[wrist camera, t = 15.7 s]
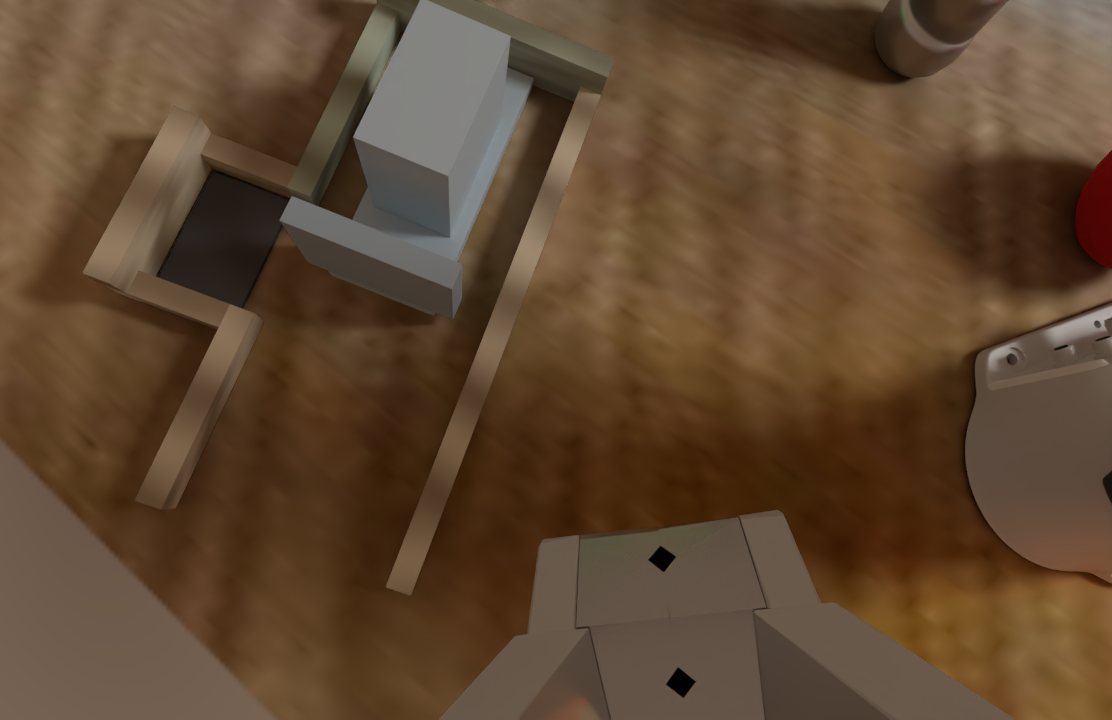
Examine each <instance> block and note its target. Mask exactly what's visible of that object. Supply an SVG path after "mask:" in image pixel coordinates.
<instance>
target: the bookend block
mask: <svg viewBox="0 0 1112 720" xmlns="http://www.w3.org/2000/svg"><path fill="white" fill-rule="evenodd" d="M510 39H511V36H509V35H507V34H505V33H502V32H500V31H498V30H495V29H493V28H491V27H488V26H486V25H484V24H481V23H479V22H477V21H474V20H472V19H470V18H467V17H465V16H463V15H460V14H458V13H456V12H453V11H451V10H449V9H446V8H444V7H442V6H439V5H437V4H435V3H432V2H430V1H428V0H420V1H419V3H418V6H417V8H416V10H415V12H414V14H413V16H412V18H411V20H410V22H409V24H408V26H407V28H406V30H405V32H404V34H403V36H402V38H401V40H400V42H399V44H398V46H397V48H396V50H395V52H394V54H393V56H392V59H391V61H390V63H389V65H388V67H387V69H386V71H385V73H384V75H383V77H382V79H381V81H380V83H379V85H378V87H377V89H376V91H375V93H374V95H373V97H372V99H371V101H370V103H369V105H368V107H367V109H366V112H365V114H364V116H363V118H362V120H361V122H360V124H359V126H358V128H357V130H356V132H355V134H354V136H353V139H354V142H355V146H356V149H357V152H358V156H359V159H360V162H361V165H362V169H363V172H364V175H365V179H366V182H367V185H368V187H367V190H366V192H365V194H364V196H363V198H362V200H361V202H360V204H359V206H358V208H357V211H356V213H355V215H354V217H353V219H352V220H351V219H348V218H346V217H343V216H341V215H338V214H336V213H333V212H331V211H328V210H326V209H323V208H321V207H318V206H316V205H313V204H311V203H308V202H306V201H303V200H301V199H298V198H296V197H293V196H292V197H291V199H290V200H289V202H288V204H287V206H286V208H285V210H284V212H283V214H282V216H281V218H280V220H279V221H280V222H281V224H282V225H283V227H284V228H285V230H286V231H287V232H288V234H289V235H290V237H291V238H292V240H293V241H294V243H295V244H296V246H297V247H298V249H299V250H300V252H301V253H302V255H303V256H304V257H305V259H306V260H307V262H308V263H310V264H313V265H315V266H318V267H320V268H323V269H325V270H328V271H329V273H330V275H331V276H333V277H336V278H338V279H341V280H344V281H346V282H349V283H351V284H354V285H356V286H359V287H361V288H364V289H366V290H369V291H371V292H374V293H376V294H379V295H382V296H384V297H387V298H389V299H392V300H394V301H397V302H399V303H402V304H404V305H407V306H409V307H412V308H414V309H417V310H420V311H422V312H425V313H427V314H430V315H432V316H435V313H437V314H439V315H442V316H444V317H447V318H449V319H452V320H453V319H454V316H455V314H456V312H457V309H458V307H459V305H460V302H461V300H462V272H463V264H460V263H458V260H459V257H460V255H461V253H462V250H463V248H464V246H465V243H466V241H467V239H468V236H469V234H470V232H471V229H472V227H473V225H474V222H475V220H476V218H477V215H478V213H479V211H480V208H481V206H482V204H483V201H484V199H485V197H486V194H487V192H488V190H489V187H490V185H491V183H492V180H493V178H494V176H495V173H496V171H497V169H498V166H499V164H500V162H501V159H502V157H503V155H504V152H505V150H506V148H507V145H508V143H509V141H510V138H511V136H512V134H513V131H514V129H515V127H516V124H517V122H518V120H519V117H520V115H521V113H522V110H523V108H524V106H525V103H526V101H527V99H528V96H529V94H530V92H531V89H532V86H533V81H534V78H532V77H530V76H527V75H525V74H523V73H520V72H518V71H516V70H513V69H511V68H509V67H507V65H508V56H509V48H510Z"/></svg>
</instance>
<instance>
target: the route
mask: <svg viewBox="0 0 1112 720" xmlns="http://www.w3.org/2000/svg"><path fill="white" fill-rule="evenodd" d="M419 1H420V0H377V4H376V6H375V8H374V10H373V12H372V14H371V16H370V18H369V20H368V23H367V25H366V27H365V29H364V31H363V33H362V35H361V37H360V39H359V41H358V43H357V45H356V47H355V49H354V51H353V53H352V55H351V57H350V59H349V61H348V64H347V66H346V68H345V70H344V72H343V74H342V76H341V78H340V80H339V82H338V84H337V86H336V88H335V90H334V92H333V94H332V96H331V98H330V100H329V102H328V105H327V107H326V109H325V111H324V113H323V115H322V117H321V119H320V121H319V123H318V125H317V127H316V129H315V131H314V133H313V135H312V137H311V139H310V141H309V143H308V145H307V148H306V150H305V152H304V154H303V156H302V158H301V160H300V162H299V164H298V166H294V165H292V164H289V163H287V162H284V161H282V160H279V159H276V158H274V157H271V156H269V155H266V154H264V153H261V152H258V151H256V150H253V149H251V148H248V147H246V146H243V145H240V144H238V143H235V142H233V141H230V140H228V139H225V138H222V137H220V136H217V135H215V134H212V133H211V132H210V131H209V129H208V128H207V126H206V125H205V124H204V122H203V121H202V119H201V118H200V116H199V115H196V114H194V113H191V112H189V111H186V110H184V109H181V108H178V107H176V106H174V107H173V108H172V110H171V112H170V114H169V116H168V117H167V119H166V121H165V123H164V125H163V127H162V128H161V130H160V132H159V134H158V136H157V138H156V139H155V141H154V143H153V145H152V147H151V148H150V150H149V152H148V154H147V156H146V158H145V159H144V161H143V163H142V165H141V167H140V168H139V170H138V172H137V174H136V176H135V178H134V179H133V181H132V183H131V185H130V187H129V188H128V190H127V192H126V194H125V196H124V198H123V199H122V201H121V203H120V205H119V207H118V209H117V210H116V212H115V214H114V216H113V218H112V219H111V221H110V223H109V225H108V227H107V229H106V230H105V232H104V234H103V236H102V238H101V239H100V241H99V243H98V245H97V247H96V249H95V250H94V252H93V254H92V256H91V258H90V260H89V261H88V263H87V265H86V267H85V269H84V270H83V272H82V274H84V275H86V276H88V277H90V278H91V279H93V280H95V281H97V282H98V283H100V284H102V285H104V286H106V287H107V288H109V289H111V290H113V291H114V292H116V293H118V294H120V295H123V296H126V297H129V298H131V299H134V300H137V301H140V302H142V303H145V304H148V305H150V306H153V307H156V308H159V309H161V310H164V311H167V312H169V313H172V314H175V315H178V316H180V317H183V318H186V319H189V320H191V321H194V322H197V323H199V324H202V325H205V326H208V327H210V328H213V329H216V330H217V332H216V334H215V336H214V338H213V340H212V342H211V344H210V346H209V348H208V350H207V352H206V355H205V357H204V359H203V361H202V363H201V365H200V367H199V369H198V371H197V373H196V375H195V377H194V379H193V381H192V383H191V385H190V387H189V389H188V391H187V393H186V396H185V398H184V400H183V402H182V404H181V406H180V408H179V410H178V412H177V414H176V416H175V418H174V420H173V422H172V424H171V426H170V428H169V430H168V432H167V434H166V437H165V439H164V441H163V443H162V445H161V447H160V449H159V451H158V453H157V455H156V457H155V459H154V461H153V463H152V465H151V467H150V469H149V471H148V473H147V475H146V477H145V480H144V482H143V484H142V486H141V488H140V490H139V492H138V494H137V496H136V498H135V500H134V501H137V502H139V503H142V504H145V505H148V506H151V507H154V508H157V509H160V510H165V509H176V507H177V505H178V503H179V501H180V499H181V496H182V494H183V492H184V490H185V488H186V486H187V484H188V482H189V480H190V477H191V475H192V473H193V471H194V469H195V467H196V465H197V463H198V460H199V458H200V456H201V454H202V452H203V450H204V448H205V446H206V444H207V441H208V439H209V437H210V435H211V433H212V431H213V429H214V427H215V425H216V422H217V420H218V418H219V416H220V414H221V412H222V410H223V408H224V405H225V403H226V401H227V399H228V397H229V395H230V393H231V391H232V389H233V386H234V384H235V382H236V380H237V378H238V376H239V374H240V372H241V369H242V367H243V365H244V363H245V361H246V359H247V357H248V355H249V353H250V350H251V348H252V346H253V344H254V342H255V340H256V338H257V336H258V333H259V331H260V329H261V327H262V325H263V323H264V321H263V320H262V319H261V318H260V317H258V316H257V315H256V314H255V313H252V312H250V311H247V310H244V309H243V307H244V305H245V303H246V301H247V299H248V297H249V295H250V293H251V291H252V288H253V286H254V284H255V282H256V280H257V278H258V276H259V274H260V272H261V270H262V268H263V266H264V264H265V262H266V259H267V257H268V255H269V253H270V251H271V249H272V247H273V245H274V243H275V241H276V239H277V237H278V235H279V232H280V230H281V228H282V226H283V225H282V224H281V222H280V221H279V220H280V218H281V216H282V214H283V212H284V210H285V208H286V206H287V204H288V202H289V200H287V199H284V198H282V197H279V196H276V195H274V194H271V193H269V192H266V191H263V190H261V189H258V188H256V187H253V186H250V185H248V184H245V183H243V182H240V181H237V180H235V179H232V178H230V177H227V176H225V175H222V174H219V173H217V172H214V171H213V173H212V175H211V177H210V179H209V181H208V183H207V185H206V187H205V189H204V190H203V192H202V194H201V196H200V198H199V200H198V202H197V204H196V206H195V208H194V210H193V212H192V214H191V215H190V217H189V219H188V221H187V223H186V225H185V227H184V229H183V231H182V233H181V235H180V237H179V239H178V240H177V242H176V244H175V246H174V248H173V250H172V252H171V254H170V256H169V258H168V260H167V262H166V264H165V265H164V267H163V269H162V271H161V273H160V275H159V277H156V276H157V274H158V272H159V270H160V268H161V266H162V264H163V262H164V260H165V258H166V256H167V254H168V252H169V251H170V249H171V247H172V245H173V243H174V241H175V239H176V237H177V235H178V233H179V231H180V229H181V228H182V226H183V224H184V222H185V220H186V218H187V216H188V214H189V212H190V210H191V208H192V206H193V204H194V203H195V201H196V199H197V197H198V195H199V193H200V191H201V189H202V187H203V185H204V183H205V181H206V179H207V178H208V176H209V174H210V172H211V170H212V169H213V170H216V171H219V172H221V173H224V174H226V175H229V176H232V177H234V178H237V179H239V180H242V181H244V182H247V183H250V184H252V185H255V186H257V187H260V188H263V189H265V190H268V191H270V192H273V193H276V194H278V195H281V196H283V197H286V198H289V199H291V197H292V196H293V197H296V198H298V199H301V200H303V201H306V202H308V203H311V204H313V205H316V206H319V204H320V202H321V200H322V198H323V196H324V194H325V192H326V189H327V187H328V185H329V183H330V181H331V179H332V177H333V175H334V173H335V170H336V168H337V166H338V164H339V162H340V160H341V158H342V156H343V153H344V151H345V149H346V147H347V145H348V143H349V141H350V139H351V137H352V134H353V132H354V130H355V128H356V126H357V124H358V122H359V120H360V117H361V115H362V113H363V111H364V109H365V107H366V105H367V103H368V101H369V98H370V96H371V94H372V92H373V90H374V88H375V86H376V84H377V81H378V79H379V77H380V75H381V73H382V71H383V69H384V67H385V65H386V62H387V60H388V58H389V56H390V54H391V52H392V50H393V48H394V45H395V43H396V41H397V39H398V37H399V35H400V33H401V32H405V30H406V28H407V26H408V24H409V22H410V20H411V18H412V16H413V14H414V12H415V10H416V8H417V6H418V3H419ZM428 1H430V2H432V3H435V4H437V5H439V6H442V7H444V8H446V9H449V10H451V11H453V12H456V13H458V14H460V15H463V16H465V17H467V18H470V19H472V20H474V21H477V22H479V23H481V24H484V25H486V26H488V27H491V28H493V29H495V30H498V31H500V32H502V33H505V34H507V35H509V36H511V39H510V48H509V56H508V65H507V67H509V68H511V69H513V70H516V71H518V72H520V73H523V74H525V75H527V76H530V77H532V78H534V81H533V86H536V87H538V88H540V89H543V90H545V91H548V92H550V93H553V94H555V95H557V96H560V97H562V98H565V99H567V100H570V101H572V102H574V104H573V107H572V110H571V112H570V115H569V117H568V120H567V122H566V125H565V128H564V130H563V133H562V135H561V138H560V140H559V143H558V146H557V148H556V151H555V153H554V156H553V158H552V161H551V164H550V166H549V169H548V171H547V174H546V176H545V179H544V182H543V184H542V187H541V189H540V192H539V194H538V197H537V199H536V202H535V205H534V207H533V210H532V212H531V215H530V217H529V220H528V223H527V225H526V228H525V230H524V233H523V235H522V238H521V241H520V243H519V246H518V248H517V251H516V253H515V256H514V259H513V261H512V264H511V266H510V269H509V271H508V274H507V277H506V279H505V282H504V284H503V287H502V289H501V292H500V294H499V297H498V300H497V302H496V305H495V307H494V310H493V312H492V315H491V318H490V320H489V323H488V325H487V328H486V330H485V333H484V336H483V338H482V341H481V343H480V346H479V348H478V351H477V354H476V356H475V359H474V361H473V364H472V366H471V369H470V372H469V374H468V377H467V379H466V382H465V384H464V387H463V389H462V392H461V395H460V397H459V400H458V402H457V405H456V407H455V410H454V413H453V415H452V418H451V420H450V423H449V425H448V428H447V431H446V433H445V436H444V438H443V441H442V443H441V446H440V449H439V451H438V454H437V456H436V459H435V461H434V464H433V467H432V469H431V472H430V474H429V477H428V479H427V482H426V484H425V487H424V490H423V492H422V495H421V497H420V500H419V502H418V505H417V508H416V510H415V513H414V515H413V518H412V520H411V523H410V526H409V528H408V531H407V533H406V536H405V538H404V541H403V544H402V546H401V549H400V551H399V554H398V556H397V559H396V562H395V564H394V567H393V569H392V572H391V574H390V577H389V580H388V582H387V585H386V588H389V589H392V590H395V591H398V592H401V593H403V594H406V595H409V596H411V594H412V591H413V589H414V586H415V584H416V581H417V578H418V576H419V573H420V571H421V568H422V565H423V563H424V560H425V557H426V555H427V552H428V549H429V547H430V544H431V542H432V539H433V536H434V534H435V531H436V528H437V526H438V523H439V520H440V518H441V515H442V513H443V510H444V507H445V505H446V502H447V499H448V497H449V494H450V492H451V489H452V486H453V484H454V481H455V478H456V476H457V473H458V470H459V468H460V465H461V463H462V460H463V457H464V455H465V452H466V449H467V447H468V444H469V442H470V439H471V436H472V434H473V431H474V428H475V426H476V423H477V420H478V418H479V415H480V413H481V410H482V407H483V405H484V402H485V399H486V397H487V394H488V391H489V389H490V386H491V384H492V381H493V378H494V376H495V373H496V370H497V368H498V365H499V363H500V360H501V357H502V355H503V352H504V349H505V347H506V344H507V341H508V339H509V336H510V334H511V331H512V328H513V326H514V323H515V320H516V318H517V315H518V313H519V310H520V307H521V305H522V302H523V299H524V297H525V294H526V291H527V289H528V286H529V284H530V281H531V278H532V276H533V273H534V270H535V268H536V265H537V262H538V260H539V257H540V255H541V252H542V249H543V247H544V244H545V241H546V239H547V236H548V234H549V231H550V228H551V226H552V223H553V220H554V218H555V215H556V212H557V210H558V207H559V205H560V202H561V199H562V197H563V194H564V191H565V189H566V186H567V184H568V181H569V178H570V176H571V173H572V170H573V168H574V165H575V162H576V160H577V157H578V155H579V152H580V149H581V147H582V144H583V141H584V139H585V136H586V133H587V131H588V128H589V126H590V123H591V120H592V118H593V115H594V112H595V110H596V107H597V105H598V102H599V99H600V97H601V94H602V91H603V89H604V86H605V83H606V81H607V78H608V75H609V72H610V70H611V67H612V64H613V62H614V59H615V58H612V57H610V56H607V55H605V54H603V53H600V52H598V51H595V50H593V49H591V48H588V47H586V46H583V45H581V44H579V43H576V42H574V41H571V40H569V39H567V38H564V37H562V36H559V35H557V34H555V33H552V32H550V31H547V30H545V29H543V28H540V27H538V26H535V25H533V24H531V23H528V22H526V21H523V20H521V19H519V18H516V17H514V16H512V15H509V14H507V13H504V12H502V11H500V10H497V9H495V8H492V7H490V6H488V5H485V4H483V3H480V2H478V1H476V0H428Z"/></svg>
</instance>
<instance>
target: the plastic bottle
mask: <svg viewBox="0 0 1112 720" xmlns="http://www.w3.org/2000/svg"><path fill="white" fill-rule="evenodd" d="M1008 1H1009V0H890V1H889V2H888V3H887V5H886V7H885V8H884V10H883V12H882V13H881V15H880V17H879V19H878V21H877V25H876V32H875V44H876V48H877V51H878V53H879V56H880V57H881V59H882V61H883V62H884V63H885V64H886V65H887V66H888V67H889V68H890V69H891V70H892V71H894V72H896V73H897V74H900V75H902V76H905V77H926V76H931V75H933V74H935V73H937V72H938V71H940V70H942V69H943V68H945V67H947V66H948V65H950V64H951V63H952V62H954V61H955V60H956V59H957V58H958V56H959V55H960V54H961V53H962V52H963V51H964V50H965V49H966V47H967V46H968V45H969V44H970V42H971V41H972V40H973V38H974V37H975V35H976V34H977V33H978V32H979V31H980V30H981V29H982V27H983V26H984V25H985V24H986V23H987V22H988V21H989V20H990V19H991V18H992V17H993V16H994V15H995V14H996V13H997V12H998V11H999V10H1000V9H1001V8H1002V7H1003V6H1004V5H1005V4H1006V3H1007V2H1008Z"/></svg>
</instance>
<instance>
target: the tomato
mask: <svg viewBox="0 0 1112 720" xmlns="http://www.w3.org/2000/svg"><path fill="white" fill-rule="evenodd" d="M1075 226H1076V234H1077V239H1078V241H1079V243H1080V245H1081V247H1082V248H1083V249H1084V250H1085V251H1086V253H1087V254H1088V255H1089V256H1090V257H1091V258H1093V259H1094V260H1095V261H1096V262H1098V263H1099V264H1102V265H1105V266H1107V267H1110V268H1112V150H1111V151H1110V152H1109V153H1108V154H1107V156H1106V157H1105V158H1104V159H1103V160H1102V161H1101V162H1100V163H1099V164H1098V165H1097V167H1096V168H1095V170H1094V171H1093V173H1092V174H1091V176H1090V177H1089V179H1088V180H1087V182H1086V183H1085V185H1084V186H1083V189H1082V191H1081V194H1080V197H1079V200H1078V203H1077V208H1076V217H1075Z"/></svg>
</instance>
